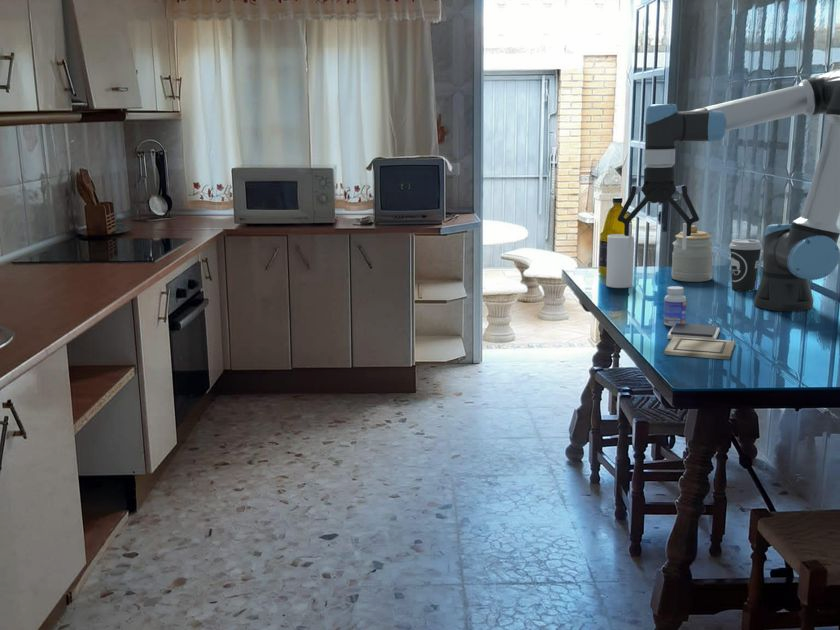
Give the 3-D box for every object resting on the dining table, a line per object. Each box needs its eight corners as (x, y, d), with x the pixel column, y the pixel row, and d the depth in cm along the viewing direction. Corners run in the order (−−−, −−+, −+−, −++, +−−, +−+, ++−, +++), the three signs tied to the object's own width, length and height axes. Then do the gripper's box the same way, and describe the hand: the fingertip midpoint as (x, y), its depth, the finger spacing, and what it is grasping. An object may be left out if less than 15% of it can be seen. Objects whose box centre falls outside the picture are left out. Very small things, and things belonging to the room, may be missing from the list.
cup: (636, 284, 276) (637, 234, 273) (627, 288, 269) (628, 238, 266) (611, 282, 280) (612, 233, 277) (602, 286, 274) (603, 236, 270)
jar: (717, 281, 276) (720, 227, 272) (677, 282, 277) (679, 228, 273) (705, 274, 289) (707, 222, 285) (666, 275, 289) (668, 223, 285)
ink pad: (719, 331, 213) (719, 325, 213) (714, 342, 203) (715, 335, 203) (673, 328, 217) (674, 322, 217) (667, 338, 208) (667, 332, 207)
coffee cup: (756, 293, 257) (759, 243, 254) (723, 290, 262) (725, 242, 259) (762, 287, 265) (765, 239, 262) (730, 285, 270) (733, 238, 267)
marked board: (734, 344, 201) (735, 340, 201) (729, 359, 189) (729, 355, 188) (673, 339, 207) (673, 335, 206) (664, 354, 194) (664, 350, 194)
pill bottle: (686, 327, 219) (687, 289, 216) (664, 326, 220) (665, 289, 217) (684, 322, 224) (685, 285, 222) (662, 321, 225) (664, 285, 223)
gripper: (709, 164, 220) (705, 246, 224) (609, 166, 225) (608, 246, 230) (712, 166, 212) (708, 251, 217) (609, 167, 218) (607, 250, 223)
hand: (656, 248), depth 224 cm, fingers open, 13 cm apart
